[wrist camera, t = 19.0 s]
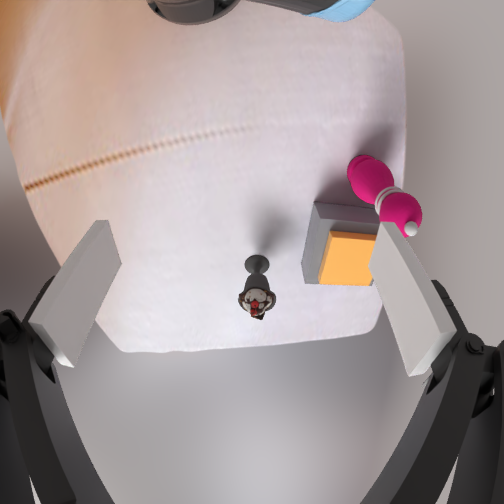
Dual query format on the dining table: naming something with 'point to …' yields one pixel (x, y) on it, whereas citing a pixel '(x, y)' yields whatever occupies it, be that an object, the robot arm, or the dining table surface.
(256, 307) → the sundae
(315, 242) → the breaker box
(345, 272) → the button
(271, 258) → the dining table surface
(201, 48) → the dining table surface
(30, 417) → the robot arm
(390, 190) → the pepper mill
